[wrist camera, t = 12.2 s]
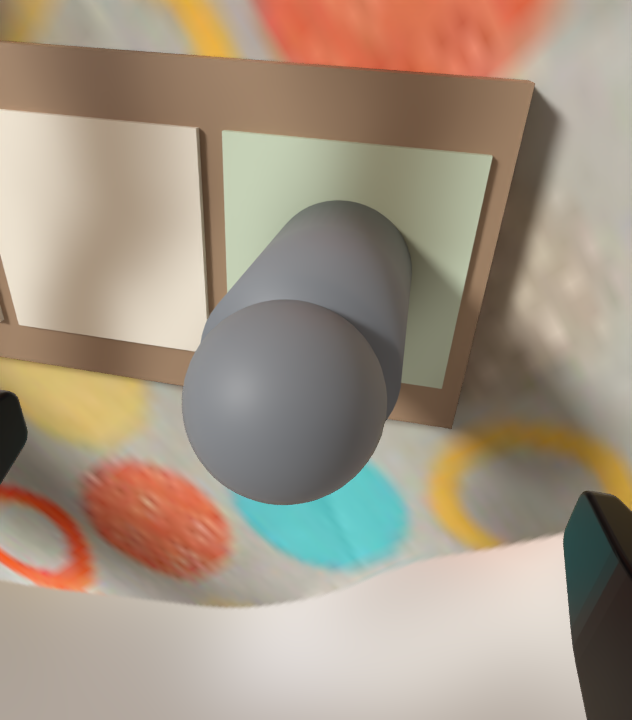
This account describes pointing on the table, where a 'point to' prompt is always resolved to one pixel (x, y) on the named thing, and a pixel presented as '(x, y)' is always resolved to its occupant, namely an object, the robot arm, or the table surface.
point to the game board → (235, 198)
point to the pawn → (303, 357)
